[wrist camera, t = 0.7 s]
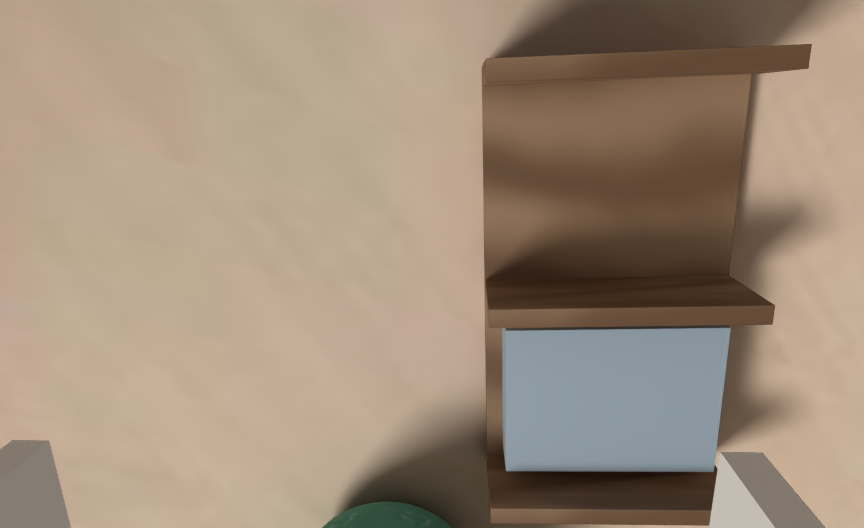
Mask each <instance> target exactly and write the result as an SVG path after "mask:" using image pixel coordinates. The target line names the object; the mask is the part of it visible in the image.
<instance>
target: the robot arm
mask: <svg viewBox="0 0 864 528" xmlns="http://www.w3.org/2000/svg"><path fill="white" fill-rule="evenodd" d="M0 528H71V526H70V522H69V518H68V514H67V510H66V506H65V502H64V498H63V494H62V490H61V486H60V482H59V478H58V474H57V470H56V466H55V462H54V458H53V454H52V450H51V446H50V443H49V441H38V440H12V441H11V442H10V443H8V444H7V445H6V446H4V447H3V448H2V449H0ZM709 528H825V526H824V525H823V524H822V523H821V522H820V521H819V519H818V518H817V517H816V516H815V515H814V513H813V512H812V511H811V510H810V509H809V507H808V506H807V505H806V504H805V503H804V501H803V500H802V499H801V498H800V497H799V495H798V494H797V493H796V492H795V491H794V490H793V488H792V487H791V486H790V485H789V484H788V482H787V481H786V480H785V479H784V478H783V476H782V475H781V474H780V473H779V472H778V470H777V469H776V468H775V467H774V466H773V464H772V463H771V462H770V461H769V460H768V459H767V457H766V456H765V455H764V454H763V453H754V452H720V457H719V464H718V471H717V477H716V484H715V490H714V497H713V504H712V510H711V517H710V524H709Z"/></svg>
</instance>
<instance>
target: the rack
mask: <svg viewBox="0 0 864 528" xmlns="http://www.w3.org/2000/svg"><path fill="white" fill-rule="evenodd" d="M811 46H812V44H801V45H779V46H756V47H734V48H711V49H689V50H666V51H644V52H622V53H599V54H577V55H554V56H532V57H510V58H487V59H486V60H485V62H484V64H483V66H482V109H483V189H484V270H485V351H486V431H487V470H488V486H489V502H490V518H491V523H508V524H612V525H709V524H710V517H711V510H712V504H713V497H714V490H715V484H716V477H717V471H718V469H717V468H716V466H714V472H604V471H506V467H505V459H504V450H503V405H502V328H546V327H622V326H698V325H772V324H773V317H774V310H775V305H773V304H772V303H770V302H769V301H767V300H766V299H764V298H763V297H761V296H760V295H758V294H757V293H755V292H753V291H752V290H750V289H749V288H747V287H746V286H744V285H743V284H741V283H740V282H738V281H737V280H735V279H733V278H732V277H730V276H729V268H730V259H731V250H732V242H733V233H734V224H735V215H736V207H737V198H738V189H739V180H740V171H741V163H742V154H743V145H744V136H745V128H746V119H747V110H748V101H749V92H750V84H751V75H752V74H760V73H770V72H780V71H789V70H799V69H808V67H809V60H810V53H811Z"/></svg>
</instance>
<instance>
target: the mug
mask: <svg viewBox="0 0 864 528" xmlns="http://www.w3.org/2000/svg"><path fill="white" fill-rule="evenodd" d="M323 528H453V527H451V526H450V525H449V524H448V523H447V522H446V521H444V520H443V519H441V518H440V517H438V516H437V515H435V514H433V513H431V512H429V511H427V510H425V509H423V508H420V507H417V506H414V505H410V504H406V503H399V502H374V503H368V504H363V505H360V506H356V507H353V508H351V509H349V510H347V511H345V512H343V513H341V514H339V515H338V516H336V517H335V518H333V519H332V520H331V521H329V522H328V523H327V524H326V525H325V526H324V527H323Z"/></svg>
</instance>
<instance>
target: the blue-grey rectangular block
mask: <svg viewBox="0 0 864 528" xmlns="http://www.w3.org/2000/svg"><path fill="white" fill-rule="evenodd" d="M730 331H731V328H730V327H729V326H728V325H698V326H622V327H546V328H502V405H503V450H504V459H505V467H506V471H604V472H714V466H715V457H716V449H717V441H718V432H719V424H720V415H721V407H722V398H723V390H724V381H725V373H726V365H727V356H728V348H729V339H730Z"/></svg>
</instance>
